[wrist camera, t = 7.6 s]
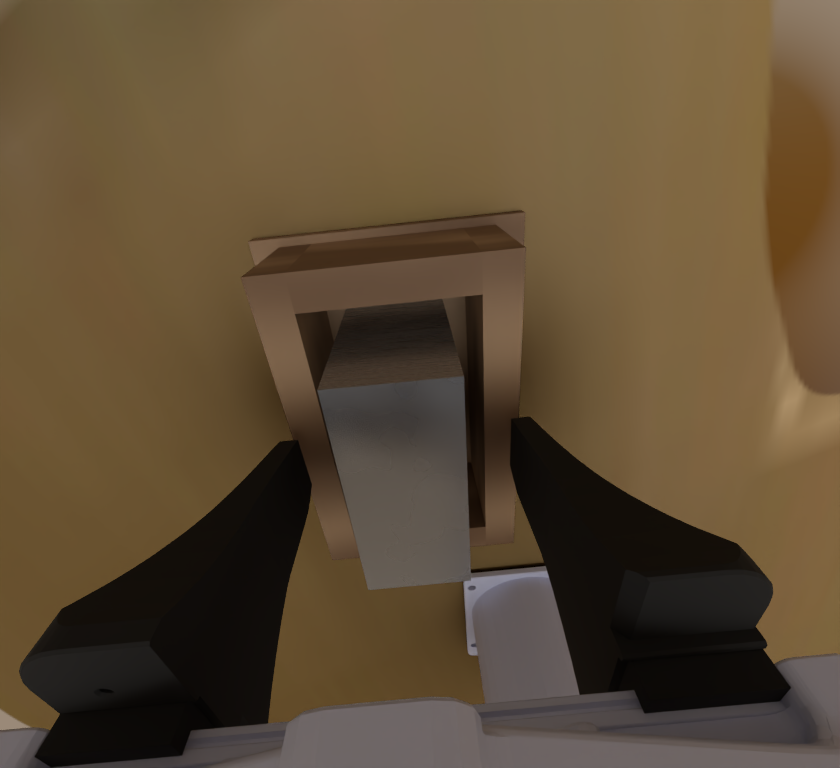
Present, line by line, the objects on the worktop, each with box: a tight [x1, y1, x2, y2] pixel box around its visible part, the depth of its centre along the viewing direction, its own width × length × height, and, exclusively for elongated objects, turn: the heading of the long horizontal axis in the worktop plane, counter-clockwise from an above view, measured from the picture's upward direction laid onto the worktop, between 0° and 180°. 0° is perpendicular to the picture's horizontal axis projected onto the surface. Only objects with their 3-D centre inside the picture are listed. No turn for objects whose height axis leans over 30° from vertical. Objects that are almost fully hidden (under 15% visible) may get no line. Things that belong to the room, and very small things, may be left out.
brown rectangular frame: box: [241, 211, 526, 560], centre depth 16 cm, size 13×10×4 cm
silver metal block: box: [317, 299, 471, 590], centre depth 14 cm, size 8×4×7 cm, turn 5°
